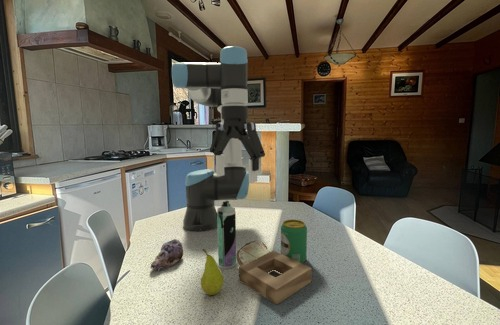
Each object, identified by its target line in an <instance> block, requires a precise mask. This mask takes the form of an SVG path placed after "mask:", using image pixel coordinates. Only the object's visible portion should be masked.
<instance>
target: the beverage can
mask: <svg viewBox="0 0 500 325" xmlns="http://www.w3.org/2000/svg"><path fill="white" fill-rule="evenodd" d="M307 237H308V228H307V226H306V223H305V222H304V221H302V220H300V219H292V218H291V219H287V220H283V222H282V224H281V226H280V254H282V255H284V256H287V257H289V258H291V259H293V260H295V261H297V262H300V263H302V264H304V263H305V262H306V260H307V253H308V252H307V245H308V242H307V240H308V238H307Z"/></svg>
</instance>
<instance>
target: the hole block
mask: <svg viewBox="0 0 500 325" xmlns="http://www.w3.org/2000/svg"><path fill="white" fill-rule="evenodd" d="M237 269H238V281H239V282H240V283H242V284H243V285H245V286H247V287H249V288H250V289H252V290H253V291H255V292H256V293H257V294H258V295H260V296H262V297H263V298H264V299H266V300H268V301H269V302H271V303H273V304H274V305H275V306H277V305H279V304H280V303H282V302H283V301H284V300H287V298H290V297H291V296H292V295H294V294H295V293H297V292H298V291H300V290H301V289H303V288H304V287H306V286H307V285H308V284H310V283H311V282H312V270H313V269H312V267H310V266H308V265H306V264H304V263H303V264H302V263H300V262H297V261H295V260H293V259H291V258H289V257H287V256H284V255H282V254H281V252H278V251H275V250H271V251H269V252H268V253H265V254H264V255H261V256H258V257H257V258H254V259H252V260H250V261H249V262H246V263H243V264H242V265H240V266H238V268H237ZM272 270H276V271H278V272H280V273H282V274H281V275H280V274H278V276H276V277H275V276H273V275H272V274H271V273H270V274H268V272H270V271H272Z"/></svg>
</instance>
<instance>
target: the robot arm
mask: <svg viewBox="0 0 500 325" xmlns="http://www.w3.org/2000/svg"><path fill="white" fill-rule="evenodd" d="M219 54H220V55H219V62H218V63H217V62H185V61H183V62H174V63H173V64H172V66H171V80H172V85H173V86H174V88H175V89H182V90H183V89H186V90H187V93H188V96H189V98H190V99H191V100H192V101H193V102H195V103H196V104H199V105H202V106H205V107H211V108H212V107H215V108H216V107H217V112H219V113H220V122H216V123H215V132H214V134H213V139H212V142H211V145H210V148H209V153H213V155H214V164H215V172H214V169H212V168H210V169H208V168H205V169H200V170H199V169H198V170H195V171H191V172H189V173H188V174H187V175H186V176H185V184H184V186H185V196H186V198H185V199H186V210H185V213H184V217H183V225H182V226H183V228H184V229H186V230H187V231H192V232H204V231H209V230H213V229H215V228H217V209H216V207H215V206H216V205H215V204H216V203H215V201H230V200H231V201H238V200H244V199H246V198H247V197H248V194H249V189H250V188H249V187H250V184H252V183H257V182H258V171H259V169H260V159H261V158H263V157H265V156H266V153H265V150H264V148H263V145H262V142H261V139H260V137H259V134H258V132H257V126H256V125H257V124H256V122H247V120H248V117H249V108H248V106H247V105H248V103H249V100H248V96H249V95H248V91H249V90H248V63H249V61H248V52H247V50H246V48H244V47H241V46H234V45H233V46H225V47H223V48H221V49H220V53H219ZM242 146H243V148H244V149H245V151H246V153H247V154H248V156H249V157H250V158H249V159H248V171H247V170H246V168H247V167H246V166H245V165H243V157H242V155H243V154H242V153H243V151H242Z"/></svg>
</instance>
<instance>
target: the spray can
mask: <svg viewBox="0 0 500 325" xmlns="http://www.w3.org/2000/svg"><path fill="white" fill-rule="evenodd" d="M216 211H217V227H216V228H217V256H218V257H217V258H218V268H221V269H223V270H229V269H233V268H235V267H236V266H237V228H236V226H237V224H236V223H237V221H236V216H237V215H236V208H235V207H234V206H232V205H231V204H230V200H224V201H223V202H222V205H221V206H220V207H217V209H216Z"/></svg>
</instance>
